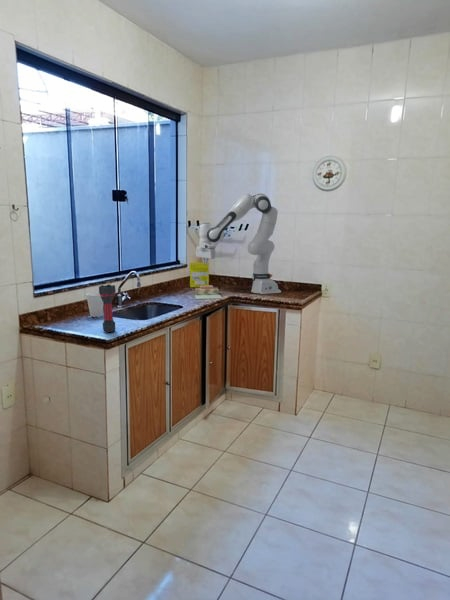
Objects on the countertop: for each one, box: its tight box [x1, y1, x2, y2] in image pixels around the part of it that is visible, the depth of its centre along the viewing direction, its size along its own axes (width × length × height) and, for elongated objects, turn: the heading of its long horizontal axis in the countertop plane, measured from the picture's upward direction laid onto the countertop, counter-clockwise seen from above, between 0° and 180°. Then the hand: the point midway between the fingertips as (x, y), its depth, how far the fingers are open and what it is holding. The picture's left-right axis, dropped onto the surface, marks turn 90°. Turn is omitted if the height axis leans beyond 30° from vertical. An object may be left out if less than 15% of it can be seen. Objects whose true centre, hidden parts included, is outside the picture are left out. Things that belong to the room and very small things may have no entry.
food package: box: [189, 262, 210, 288], centre depth 332 cm, size 15×1×20 cm, turn 84°
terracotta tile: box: [199, 284, 214, 290], centre depth 302 cm, size 9×6×2 cm, turn 98°
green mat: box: [194, 294, 223, 300], centre depth 290 cm, size 18×13×1 cm
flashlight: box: [98, 284, 116, 333], centre depth 198 cm, size 8×8×23 cm
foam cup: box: [85, 292, 104, 317], centre depth 231 cm, size 10×9×13 cm
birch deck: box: [194, 287, 220, 295], centre depth 301 cm, size 16×10×4 cm, turn 98°
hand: (205, 264), depth 306 cm, fingers closed
